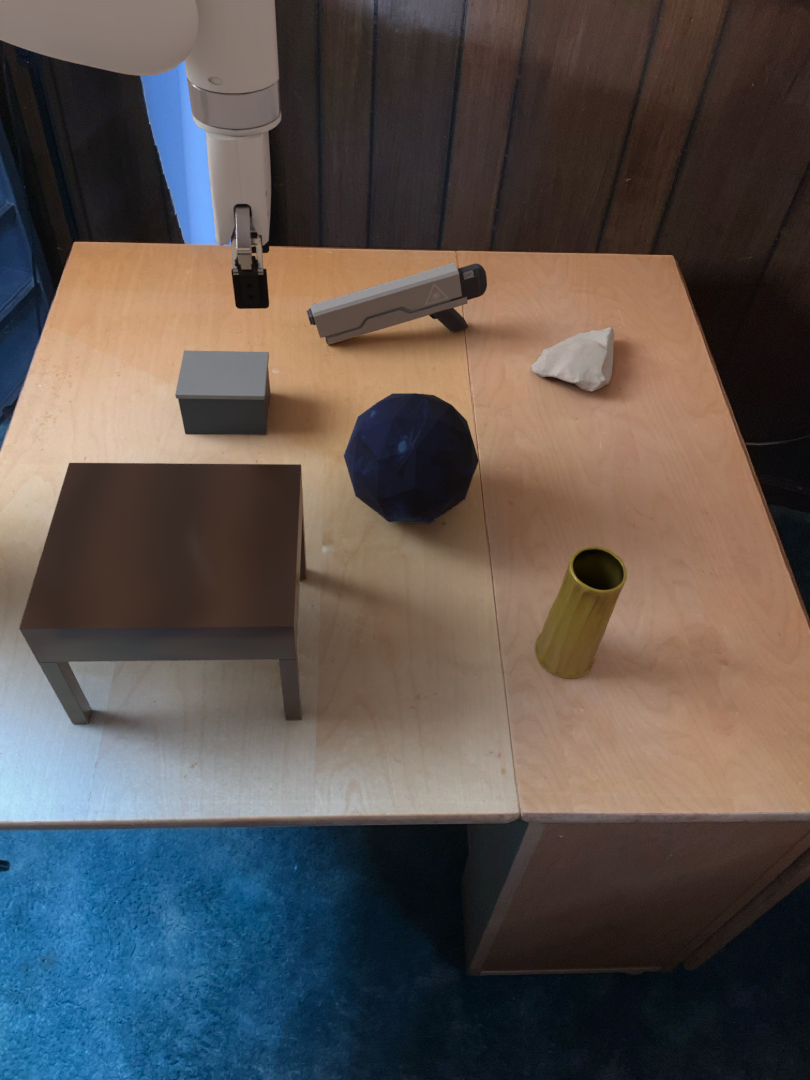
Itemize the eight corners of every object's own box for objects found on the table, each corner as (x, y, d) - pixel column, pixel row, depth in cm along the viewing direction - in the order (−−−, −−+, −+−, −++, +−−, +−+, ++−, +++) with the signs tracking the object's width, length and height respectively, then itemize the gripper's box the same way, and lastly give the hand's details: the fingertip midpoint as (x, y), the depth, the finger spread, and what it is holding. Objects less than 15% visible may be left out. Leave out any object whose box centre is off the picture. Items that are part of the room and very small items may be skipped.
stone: (528, 348, 108) (582, 302, 116) (522, 373, 111) (575, 326, 119) (597, 382, 104) (648, 332, 112) (589, 407, 107) (639, 356, 115)
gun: (492, 322, 116) (487, 262, 108) (325, 372, 115) (307, 316, 107) (487, 312, 117) (481, 252, 109) (322, 361, 117) (304, 305, 109)
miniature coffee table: (72, 724, 74) (18, 628, 62) (111, 556, 87) (72, 449, 74) (301, 720, 76) (293, 626, 64) (307, 556, 88) (301, 451, 76)
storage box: (183, 434, 99) (174, 394, 94) (191, 390, 105) (183, 350, 100) (268, 435, 100) (264, 396, 95) (272, 391, 105) (268, 351, 100)
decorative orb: (363, 547, 83) (449, 434, 77) (298, 456, 91) (372, 347, 85) (447, 558, 94) (528, 460, 88) (383, 476, 101) (453, 380, 96)
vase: (584, 625, 85) (620, 539, 74) (601, 676, 81) (642, 593, 70) (528, 630, 84) (556, 544, 73) (542, 682, 80) (574, 599, 69)
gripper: (196, 57, 73) (219, 232, 86) (183, 146, 62) (211, 331, 75) (279, 59, 74) (289, 232, 87) (281, 147, 63) (292, 330, 76)
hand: (253, 278), depth 81 cm, fingers open, 9 cm apart
